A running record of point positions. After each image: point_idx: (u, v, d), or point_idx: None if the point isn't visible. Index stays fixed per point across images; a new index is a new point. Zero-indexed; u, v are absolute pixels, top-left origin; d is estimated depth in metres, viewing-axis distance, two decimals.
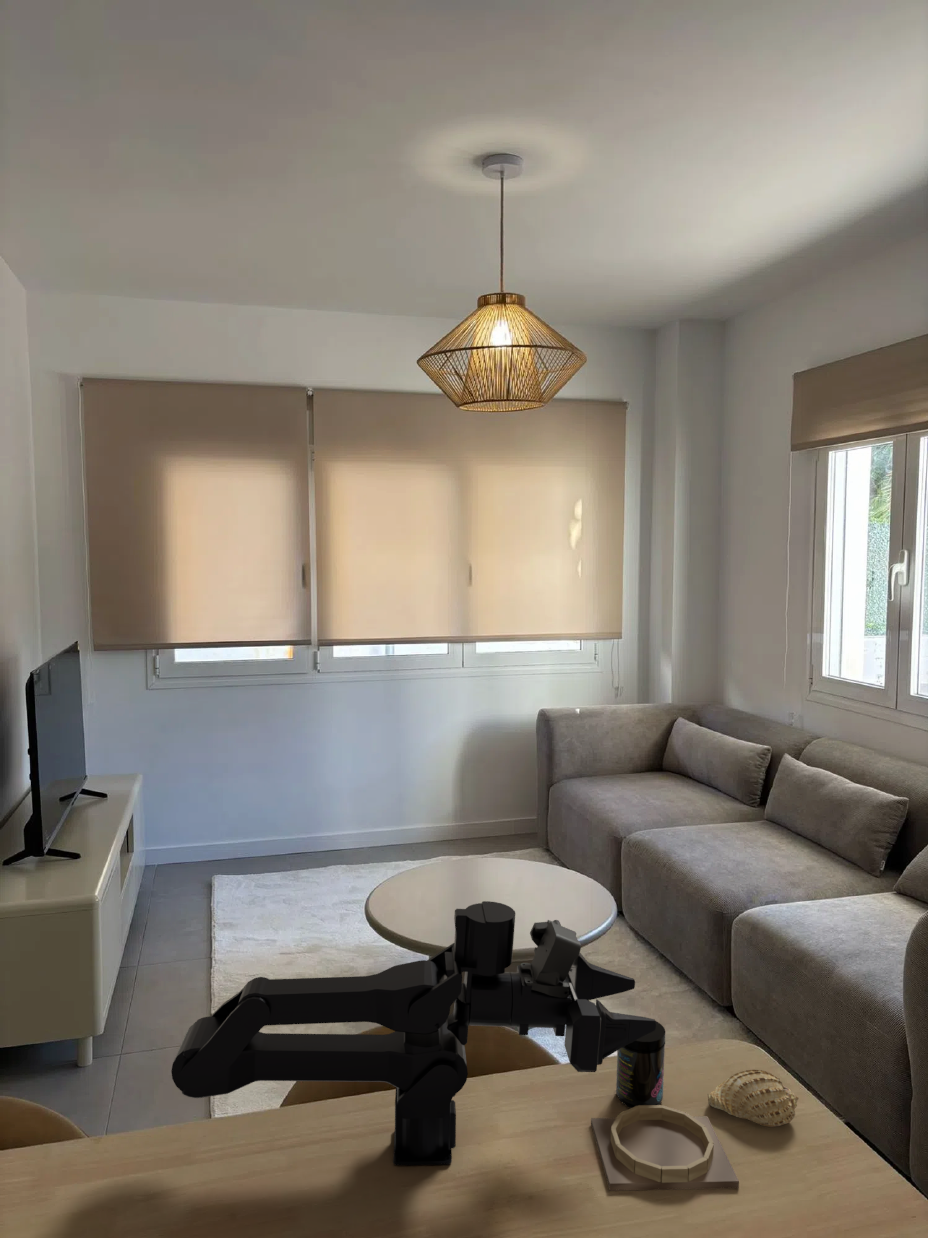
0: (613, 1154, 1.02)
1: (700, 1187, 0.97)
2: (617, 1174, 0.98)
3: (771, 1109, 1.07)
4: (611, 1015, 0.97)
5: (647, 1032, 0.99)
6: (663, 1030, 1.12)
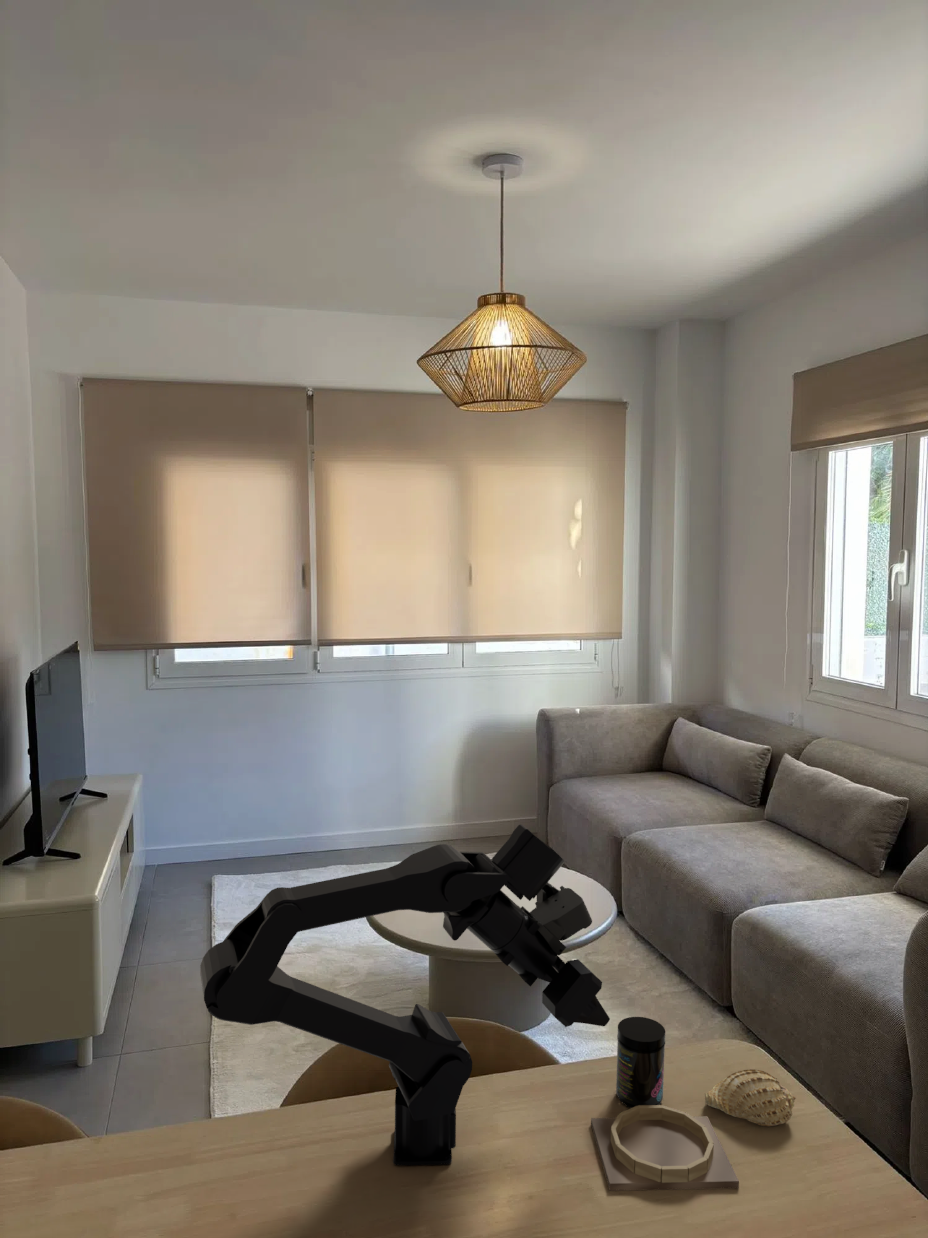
0: (613, 1154, 1.02)
1: (700, 1187, 0.97)
2: (617, 1174, 0.98)
3: (768, 1108, 1.07)
4: None
5: (600, 1024, 1.04)
6: (663, 1030, 1.12)
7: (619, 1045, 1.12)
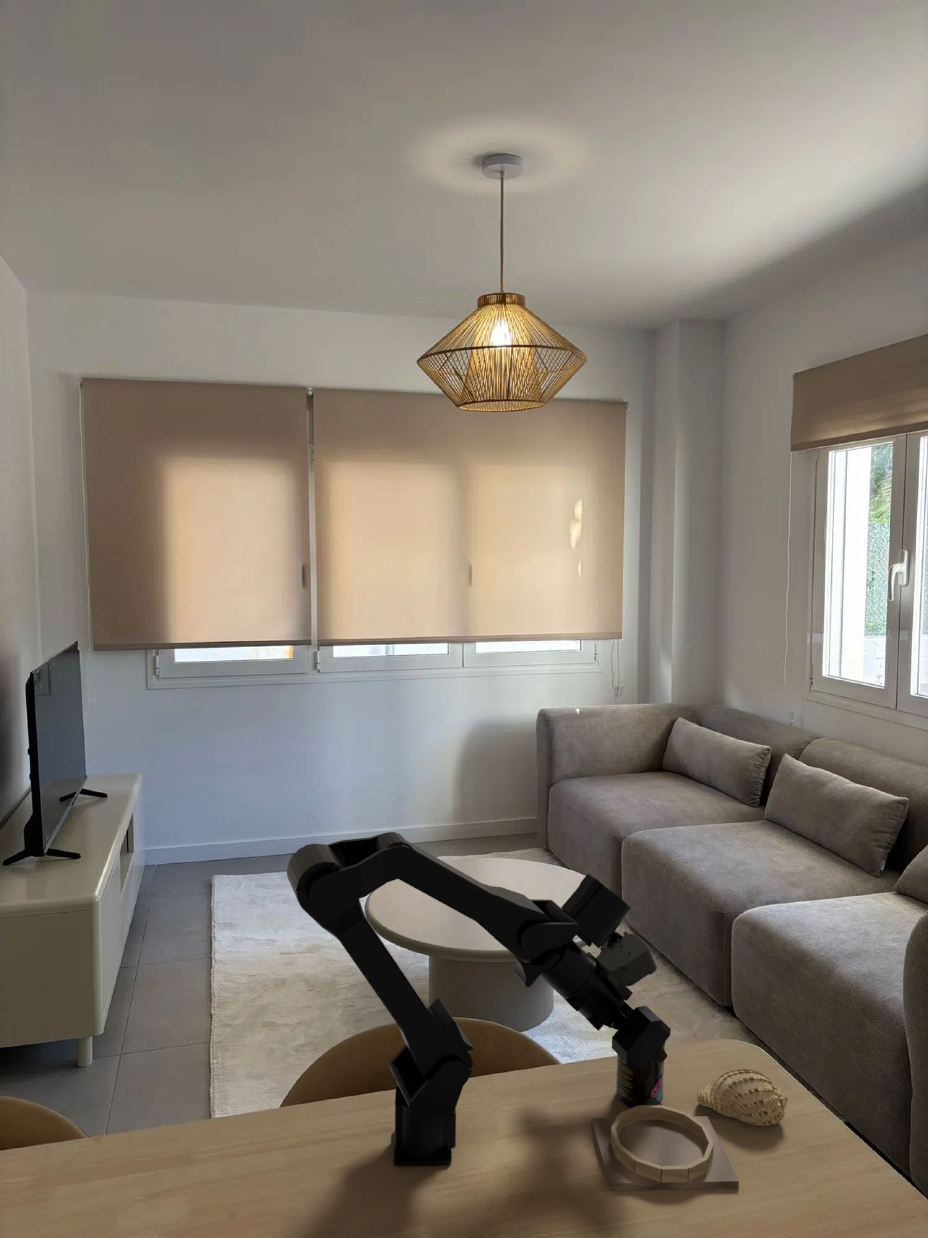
0: (613, 1154, 1.02)
1: (700, 1187, 0.97)
2: (617, 1174, 0.98)
3: (759, 1108, 1.07)
4: None
5: (658, 1060, 1.09)
6: None
7: None
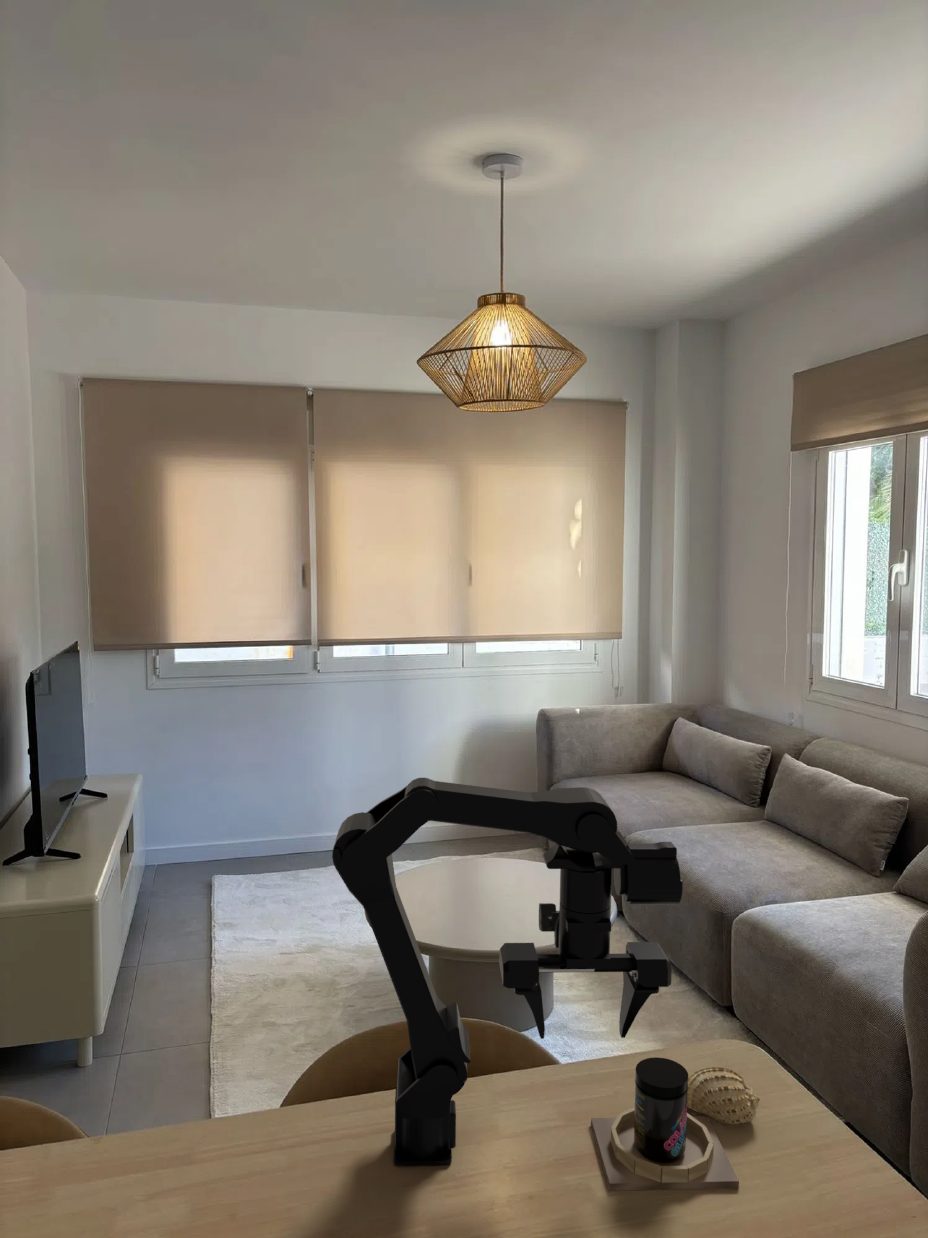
0: (613, 1154, 1.02)
1: (700, 1187, 0.97)
2: (617, 1174, 0.98)
3: (727, 1106, 1.07)
4: None
5: (627, 1030, 1.03)
6: (685, 1078, 1.01)
7: (635, 1085, 1.02)
